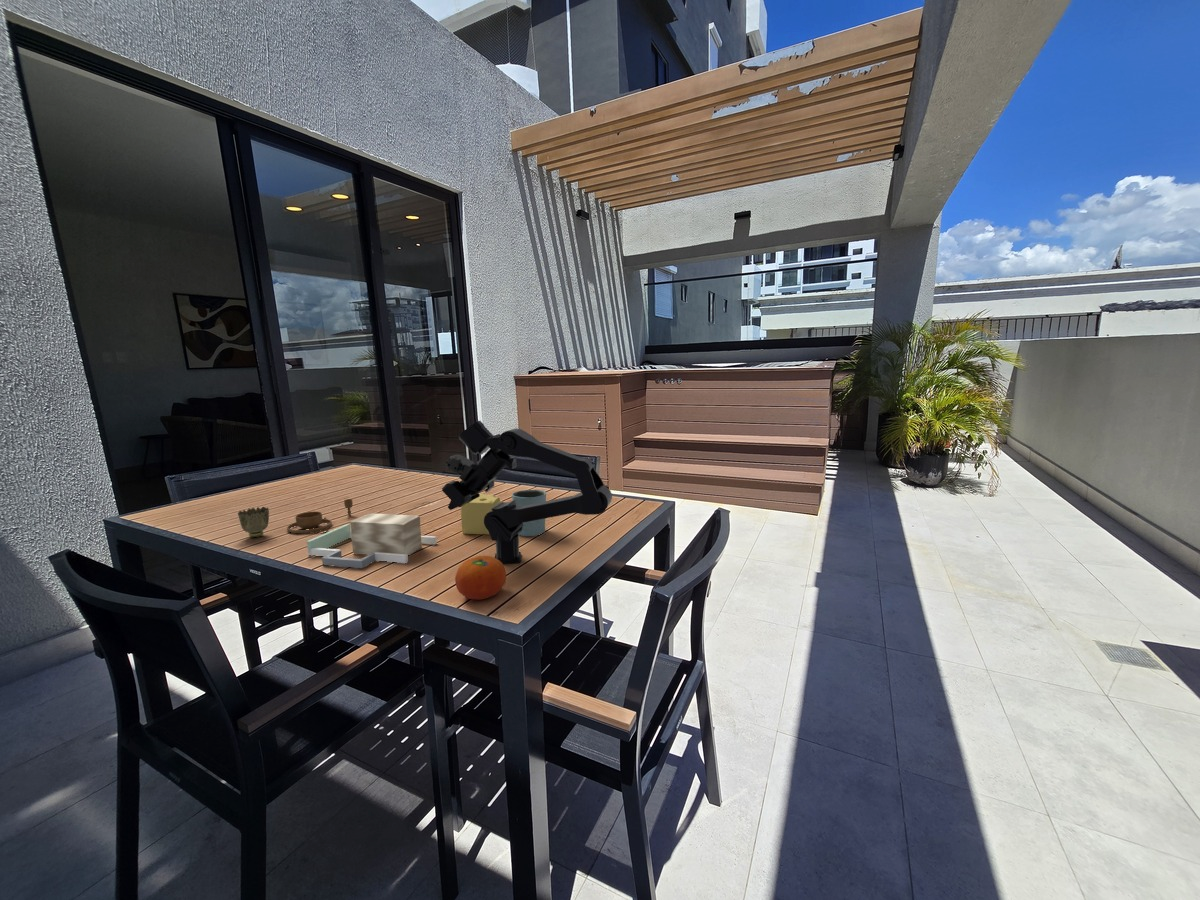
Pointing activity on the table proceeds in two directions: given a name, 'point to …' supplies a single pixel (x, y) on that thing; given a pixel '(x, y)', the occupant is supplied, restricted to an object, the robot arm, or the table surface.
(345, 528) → the low angular wall frame
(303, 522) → the place setting
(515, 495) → the blue-gray cylindrical container
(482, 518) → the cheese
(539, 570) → the table surface
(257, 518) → the cup
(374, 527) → the birch block
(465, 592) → the fruit
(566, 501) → the robot arm
